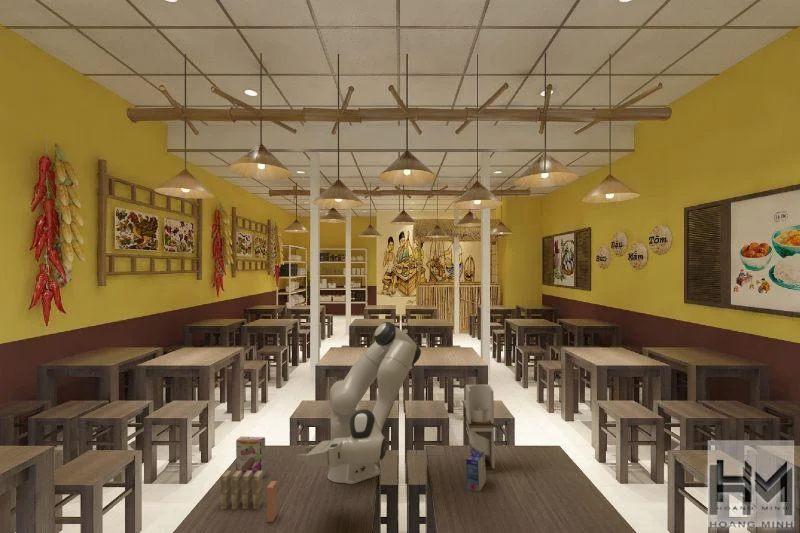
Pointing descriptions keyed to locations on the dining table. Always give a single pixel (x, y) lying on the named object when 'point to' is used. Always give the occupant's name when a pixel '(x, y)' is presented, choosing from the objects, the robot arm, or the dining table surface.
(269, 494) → the terracotta domino
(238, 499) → the cream domino
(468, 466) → the ink cartridge box
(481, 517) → the dining table surface
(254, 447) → the candy bar box
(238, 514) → the dining table surface
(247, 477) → the cream domino
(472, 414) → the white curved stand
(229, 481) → the cream domino
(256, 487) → the cream domino
